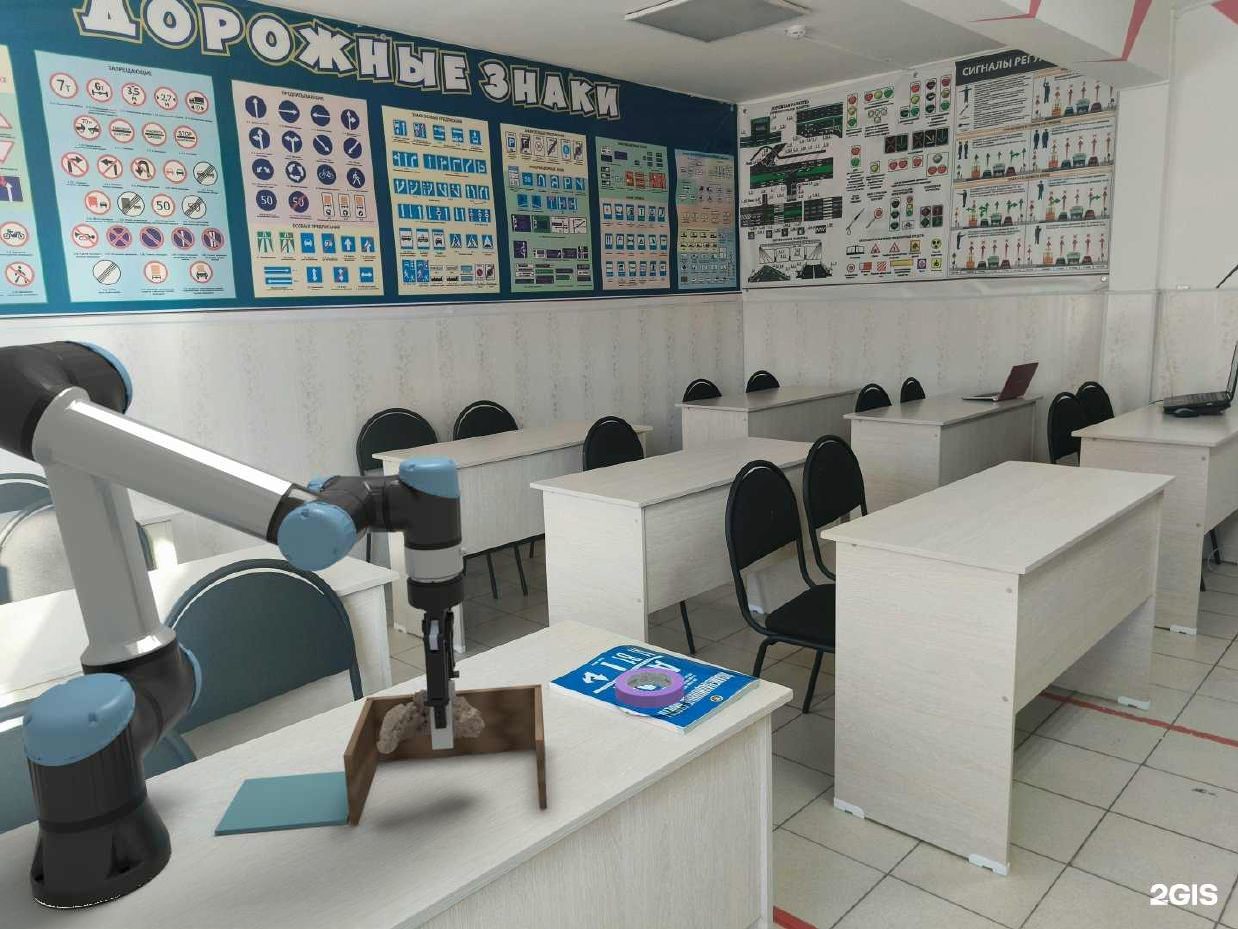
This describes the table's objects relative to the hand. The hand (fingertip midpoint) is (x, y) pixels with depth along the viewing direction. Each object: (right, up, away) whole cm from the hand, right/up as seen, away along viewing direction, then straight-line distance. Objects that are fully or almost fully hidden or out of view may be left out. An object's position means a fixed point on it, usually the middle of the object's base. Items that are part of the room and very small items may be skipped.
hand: (445, 735), depth 124 cm
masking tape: (+29, -3, +29) cm, 41 cm away
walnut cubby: (0, -8, +5) cm, 10 cm away
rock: (-2, -1, -1) cm, 2 cm away
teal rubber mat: (-21, -10, +2) cm, 24 cm away
